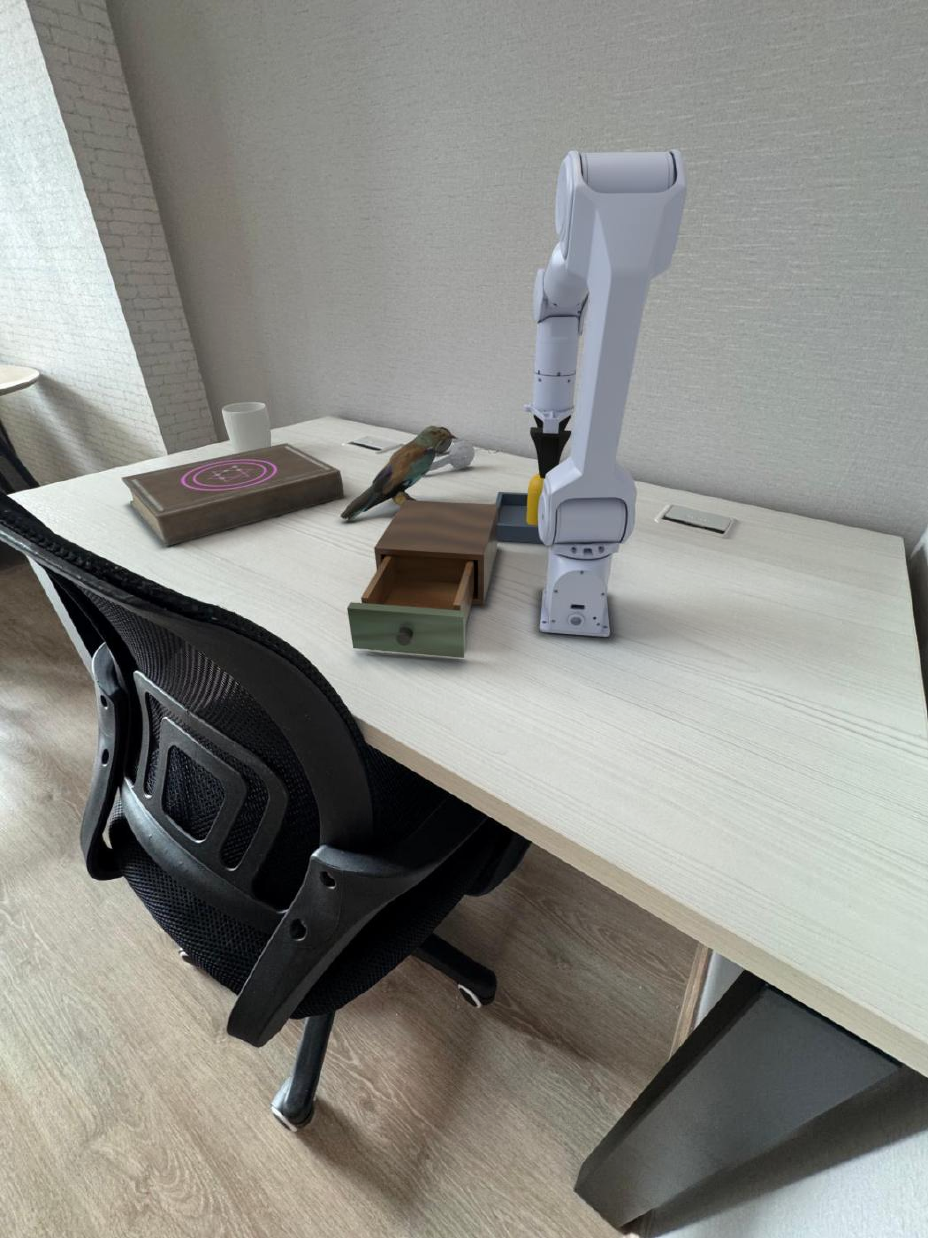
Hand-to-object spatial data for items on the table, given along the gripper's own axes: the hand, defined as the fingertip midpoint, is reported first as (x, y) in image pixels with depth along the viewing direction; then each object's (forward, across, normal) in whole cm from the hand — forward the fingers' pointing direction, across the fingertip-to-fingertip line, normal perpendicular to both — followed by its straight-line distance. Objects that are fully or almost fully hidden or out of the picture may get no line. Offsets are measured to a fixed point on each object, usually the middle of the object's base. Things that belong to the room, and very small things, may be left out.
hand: (548, 469), depth 85 cm
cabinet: (+10, +17, -13) cm, 23 cm away
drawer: (+9, +30, -13) cm, 34 cm away
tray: (+9, -1, 0) cm, 9 cm away
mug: (+9, -31, -65) cm, 73 cm away
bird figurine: (+10, -4, -24) cm, 26 cm away
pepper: (+9, -1, 0) cm, 9 cm away
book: (+10, -4, -54) cm, 55 cm away
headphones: (+9, -28, -22) cm, 37 cm away
